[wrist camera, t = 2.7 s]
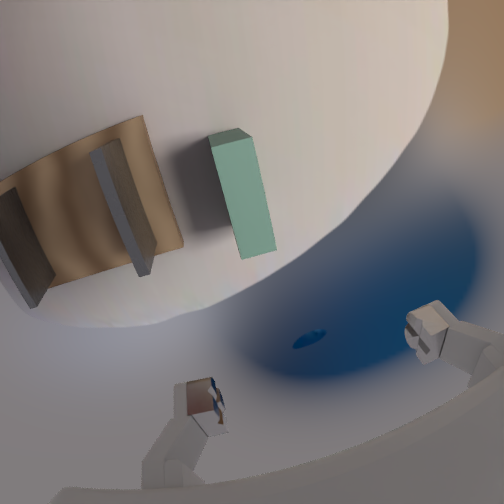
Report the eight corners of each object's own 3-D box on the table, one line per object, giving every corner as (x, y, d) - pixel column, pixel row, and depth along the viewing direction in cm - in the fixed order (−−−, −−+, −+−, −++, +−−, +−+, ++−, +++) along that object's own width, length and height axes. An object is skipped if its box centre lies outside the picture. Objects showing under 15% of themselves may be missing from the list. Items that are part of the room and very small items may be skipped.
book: (239, 127, 32) (252, 136, 25) (260, 216, 38) (277, 250, 30) (207, 136, 32) (210, 147, 24) (231, 224, 38) (241, 260, 30)
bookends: (119, 137, 29) (100, 147, 23) (157, 242, 35) (150, 274, 29) (9, 189, 29) (-22, 210, 22) (49, 277, 35) (30, 308, 29)
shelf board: (142, 115, 30) (140, 115, 28) (183, 241, 38) (183, 247, 36) (-3, 183, 29) (-9, 187, 28) (44, 285, 37) (40, 290, 35)
